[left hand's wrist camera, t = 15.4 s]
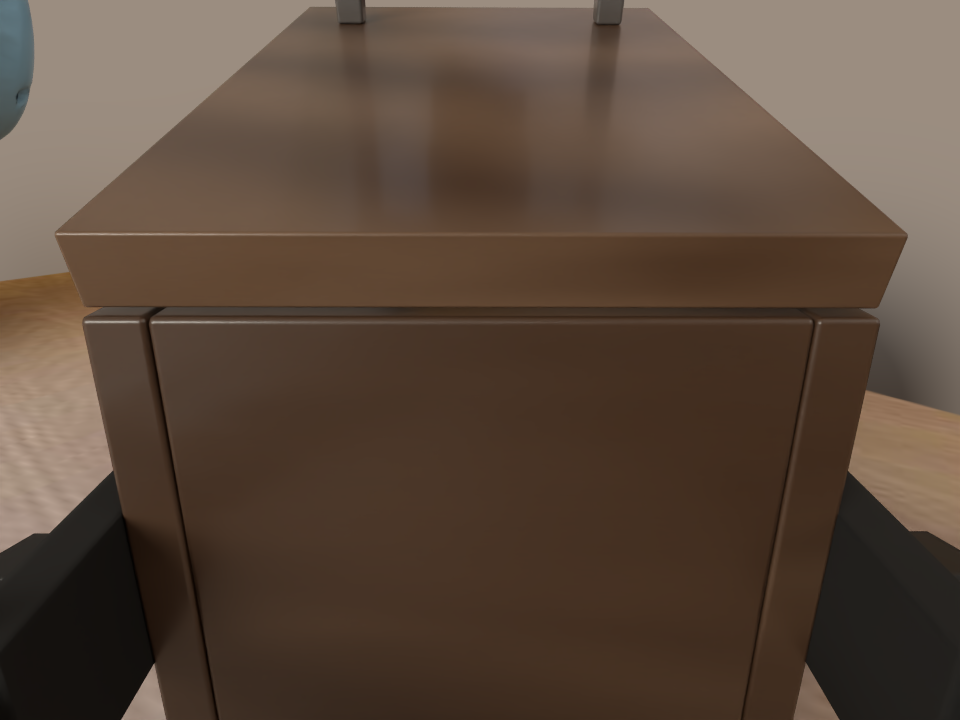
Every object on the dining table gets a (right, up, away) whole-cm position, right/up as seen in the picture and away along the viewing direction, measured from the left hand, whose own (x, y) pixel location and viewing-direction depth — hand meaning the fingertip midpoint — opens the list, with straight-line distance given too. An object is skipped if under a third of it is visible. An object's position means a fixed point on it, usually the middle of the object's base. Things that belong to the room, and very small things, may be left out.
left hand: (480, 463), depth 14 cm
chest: (0, -4, +5) cm, 7 cm away
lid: (0, +7, +1) cm, 7 cm away
